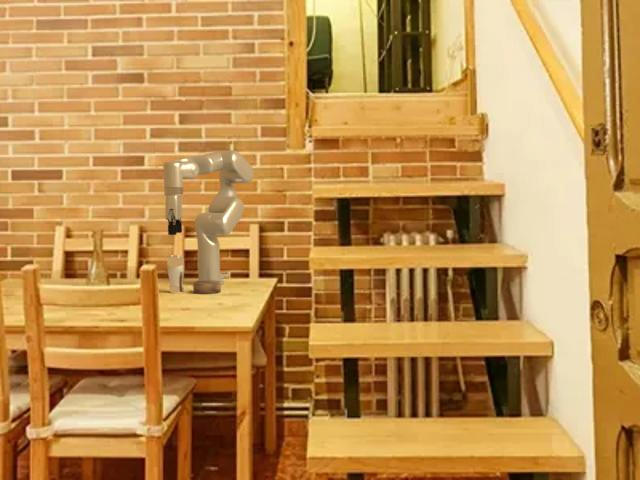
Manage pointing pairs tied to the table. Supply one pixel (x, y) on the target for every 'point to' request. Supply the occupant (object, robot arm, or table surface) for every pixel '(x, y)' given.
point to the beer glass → (175, 273)
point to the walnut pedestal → (206, 287)
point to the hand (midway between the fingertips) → (175, 233)
